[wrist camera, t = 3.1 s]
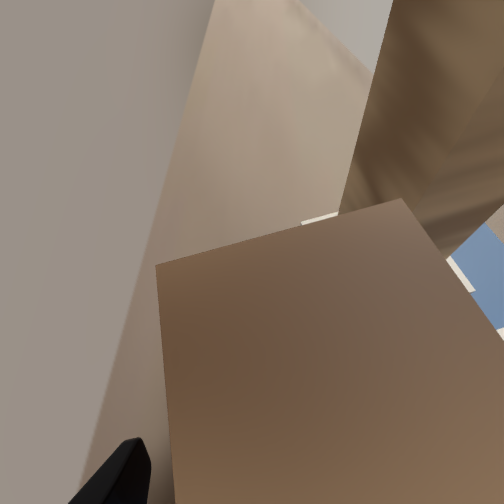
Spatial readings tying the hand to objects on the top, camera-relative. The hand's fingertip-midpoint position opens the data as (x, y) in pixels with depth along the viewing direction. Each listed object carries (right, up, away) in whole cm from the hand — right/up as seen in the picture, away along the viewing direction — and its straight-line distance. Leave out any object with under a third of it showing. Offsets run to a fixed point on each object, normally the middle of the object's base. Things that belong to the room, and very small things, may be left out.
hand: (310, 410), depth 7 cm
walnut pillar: (+1, -3, +7) cm, 8 cm away
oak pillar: (+6, +4, +9) cm, 11 cm away
